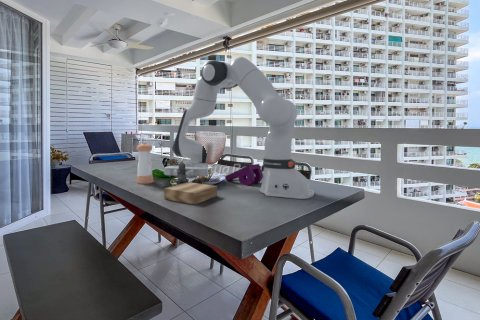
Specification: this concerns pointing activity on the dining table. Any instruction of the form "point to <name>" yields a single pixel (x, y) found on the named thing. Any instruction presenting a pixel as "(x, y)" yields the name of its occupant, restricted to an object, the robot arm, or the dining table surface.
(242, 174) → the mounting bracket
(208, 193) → the stand
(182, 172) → the dark grey upright piece
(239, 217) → the dining table surface
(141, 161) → the salt shaker
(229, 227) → the dining table surface
